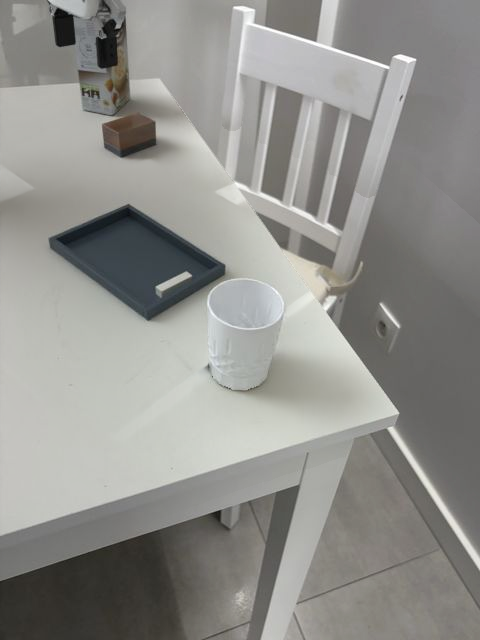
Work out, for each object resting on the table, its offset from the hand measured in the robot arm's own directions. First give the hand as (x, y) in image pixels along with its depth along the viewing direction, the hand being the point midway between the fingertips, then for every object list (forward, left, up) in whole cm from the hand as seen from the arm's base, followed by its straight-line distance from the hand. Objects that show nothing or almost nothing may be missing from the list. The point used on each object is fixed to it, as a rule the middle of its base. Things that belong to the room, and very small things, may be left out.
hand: (86, 55), depth 81 cm
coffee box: (-16, +15, -16) cm, 28 cm away
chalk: (+33, -14, -15) cm, 39 cm away
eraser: (0, +7, -16) cm, 18 cm away
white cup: (+49, -18, -16) cm, 54 cm away
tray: (+27, -14, -16) cm, 34 cm away
